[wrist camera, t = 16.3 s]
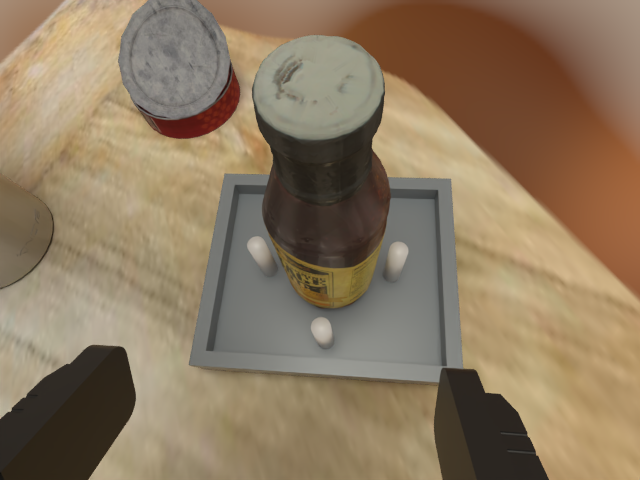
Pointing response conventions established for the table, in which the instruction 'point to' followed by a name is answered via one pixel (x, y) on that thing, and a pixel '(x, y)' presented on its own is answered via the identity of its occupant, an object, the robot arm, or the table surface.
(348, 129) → the sauce bottle
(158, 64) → the canned food
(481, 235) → the table surface
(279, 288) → the pin tray
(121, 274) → the table surface
